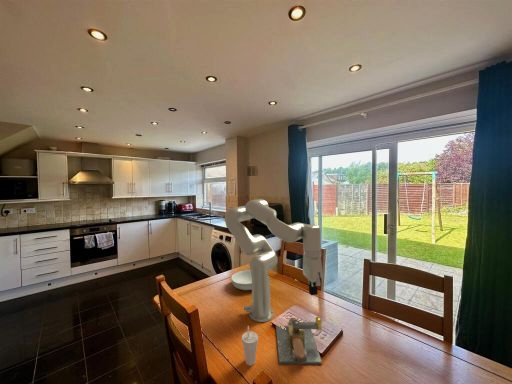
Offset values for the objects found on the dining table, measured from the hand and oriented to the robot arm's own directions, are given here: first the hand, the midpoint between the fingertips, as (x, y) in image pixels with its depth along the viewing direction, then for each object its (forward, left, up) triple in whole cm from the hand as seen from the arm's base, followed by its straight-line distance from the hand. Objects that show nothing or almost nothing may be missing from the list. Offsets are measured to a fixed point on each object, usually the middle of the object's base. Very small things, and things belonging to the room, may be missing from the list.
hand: (313, 293), depth 92 cm
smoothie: (-28, -13, -20) cm, 36 cm away
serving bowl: (-34, +47, -20) cm, 61 cm away
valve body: (-9, -4, -19) cm, 22 cm away
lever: (-4, -4, -13) cm, 14 cm away
